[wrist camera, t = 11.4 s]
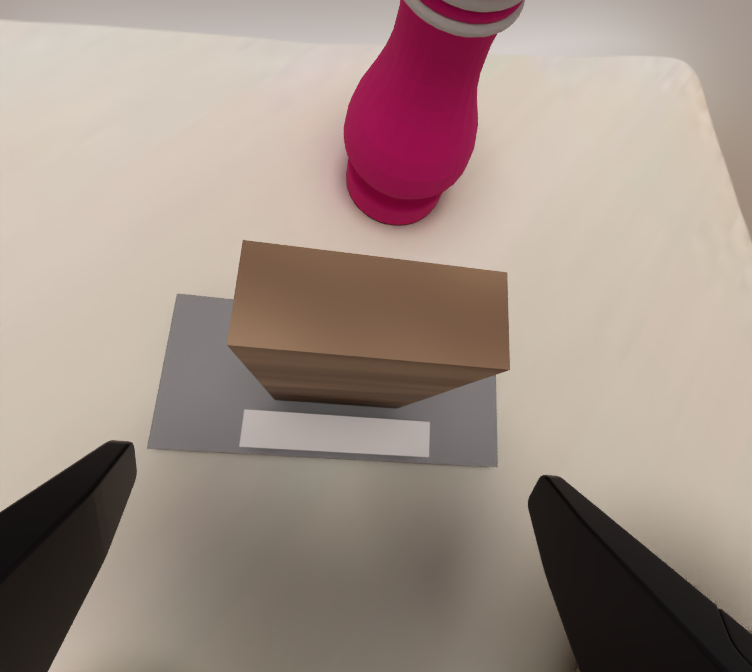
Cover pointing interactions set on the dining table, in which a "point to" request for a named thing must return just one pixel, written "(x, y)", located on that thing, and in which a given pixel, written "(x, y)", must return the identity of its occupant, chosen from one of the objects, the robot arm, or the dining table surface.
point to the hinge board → (301, 408)
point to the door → (365, 325)
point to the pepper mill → (420, 106)
